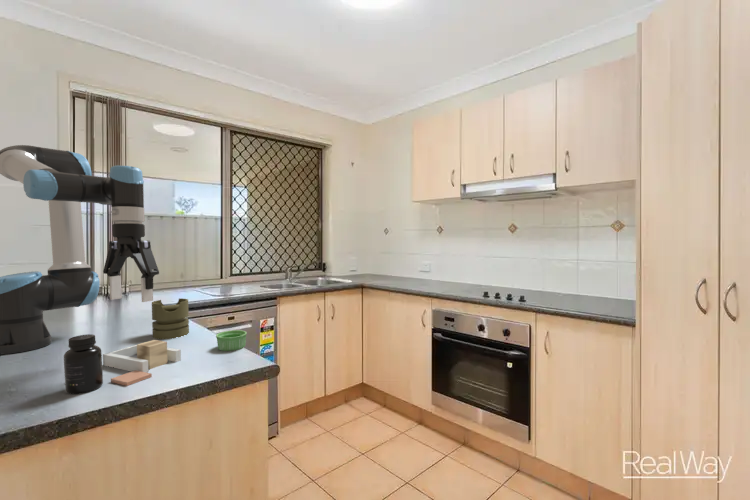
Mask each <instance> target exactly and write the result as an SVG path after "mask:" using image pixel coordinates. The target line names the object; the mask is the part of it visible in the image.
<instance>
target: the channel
mask: <svg viewBox="0 0 750 500" xmlns="http://www.w3.org/2000/svg"><path fill="white" fill-rule="evenodd" d="M181 353H182V351H181V349H178V348H172V347H167V362H168V361H169V362H175V363H178V362H181V360H182V357H181V355H182V354H181ZM102 366H105V367H108V366H109V368H113V367H114V369H119V370H123V371H129V372H132V371H135V370H137V371H141V372H146V373H149V369H148V360H144V359H139V358H137V344H136V345H132V346H129V347H124V348H121V349H118V350H114V351H110V352H107V353H104V354H103V353H102Z"/></svg>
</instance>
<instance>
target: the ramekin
mask: <svg viewBox="0 0 750 500" xmlns="http://www.w3.org/2000/svg"><path fill="white" fill-rule="evenodd" d="M247 334H248V333H247V331H245V330H241V329H236V330H235V329H233V330H226V331H222V332H219V333H216V335H215V338H216V341H217V342H216V343H217V349H218V350H219V351H222V352H231V351H238V350H242V349H243V348H245V347H246V343H247V342H246V341H247Z"/></svg>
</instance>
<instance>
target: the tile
mask: <svg viewBox="0 0 750 500" xmlns="http://www.w3.org/2000/svg"><path fill="white" fill-rule="evenodd" d="M152 375H153V374H152V373H151V372H147V373H146V372H141V371H137V370H135V371H129V372H126V373H124V374H120V375H117V376H115V377H111V378H110V383H114V384H117V385H121V386H124V387H125V386H127V387H128V386H131V385H133V384H136V383H139V382H142V381H144V380H147V379H150V378H153V376H152Z"/></svg>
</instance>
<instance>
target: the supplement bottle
mask: <svg viewBox="0 0 750 500" xmlns="http://www.w3.org/2000/svg"><path fill="white" fill-rule="evenodd" d="M67 341H68V346H67V347H68V348H69V349H68V350H67V351H65V353H64V355H63V370H64V385H65V388H64V389H65V392H66V393H67V394H68V395H81V394H87V393H89V392H92V391H95V390H98V389H100V388H101V387H102V386H103V384H104V375H103V374H104V373H103V372H104V371H103V353H102V349H101V347H100V346H98V345H95V344H96V343H97V340H96V335H95V334H90V333H89V334H82V335H81V334H80V335H76V336H72V337H69V338H68V340H67Z"/></svg>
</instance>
